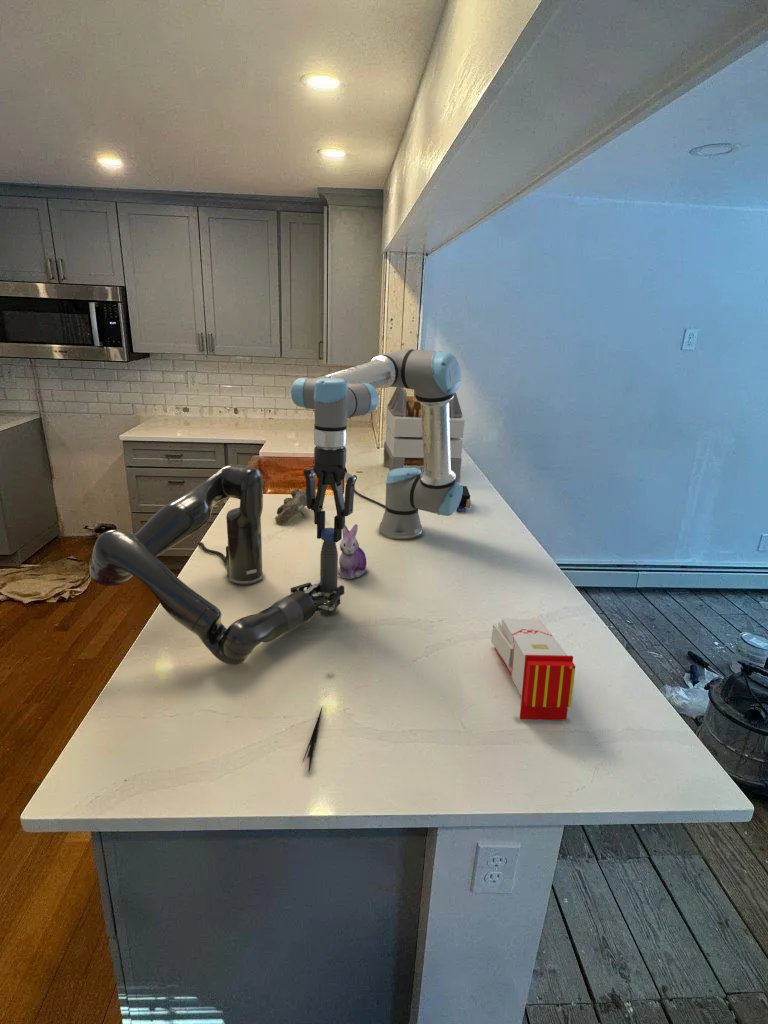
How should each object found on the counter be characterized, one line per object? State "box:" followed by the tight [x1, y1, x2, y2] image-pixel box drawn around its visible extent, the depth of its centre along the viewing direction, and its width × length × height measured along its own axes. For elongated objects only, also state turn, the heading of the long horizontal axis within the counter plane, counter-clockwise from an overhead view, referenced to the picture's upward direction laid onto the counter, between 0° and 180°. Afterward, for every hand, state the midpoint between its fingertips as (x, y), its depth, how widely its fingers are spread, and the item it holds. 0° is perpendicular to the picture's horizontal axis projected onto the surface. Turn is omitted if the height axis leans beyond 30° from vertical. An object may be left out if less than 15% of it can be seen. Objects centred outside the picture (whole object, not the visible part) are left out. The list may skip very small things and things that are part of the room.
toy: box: [490, 617, 576, 721], centre depth 122 cm, size 12×13×30 cm
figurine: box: [338, 523, 368, 580], centre depth 166 cm, size 9×10×15 cm
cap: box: [320, 527, 334, 542], centre depth 140 cm, size 4×4×2 cm
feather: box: [301, 673, 332, 771], centre depth 108 cm, size 2×28×2 cm
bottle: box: [319, 540, 339, 616], centre depth 144 cm, size 4×4×22 cm
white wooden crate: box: [383, 387, 465, 483], centre depth 268 cm, size 34×33×41 cm
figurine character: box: [456, 485, 472, 513], centre depth 228 cm, size 7×8×15 cm
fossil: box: [274, 488, 307, 525], centre depth 211 cm, size 22×10×15 cm
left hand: (335, 586), depth 148 cm, fingers closed on bottle, 4 cm apart
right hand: (329, 538), depth 141 cm, fingers closed on cap, 4 cm apart
